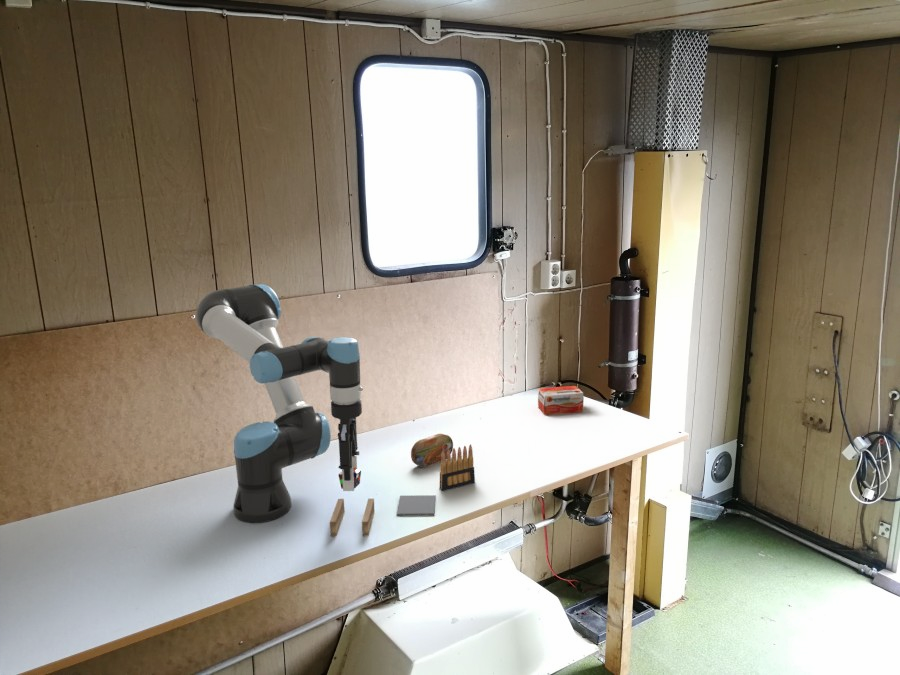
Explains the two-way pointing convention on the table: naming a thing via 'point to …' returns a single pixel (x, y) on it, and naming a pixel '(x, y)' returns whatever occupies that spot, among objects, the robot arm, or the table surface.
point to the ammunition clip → (456, 469)
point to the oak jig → (339, 514)
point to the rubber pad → (416, 505)
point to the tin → (431, 450)
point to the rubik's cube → (356, 477)
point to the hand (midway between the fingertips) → (350, 484)
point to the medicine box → (560, 400)
